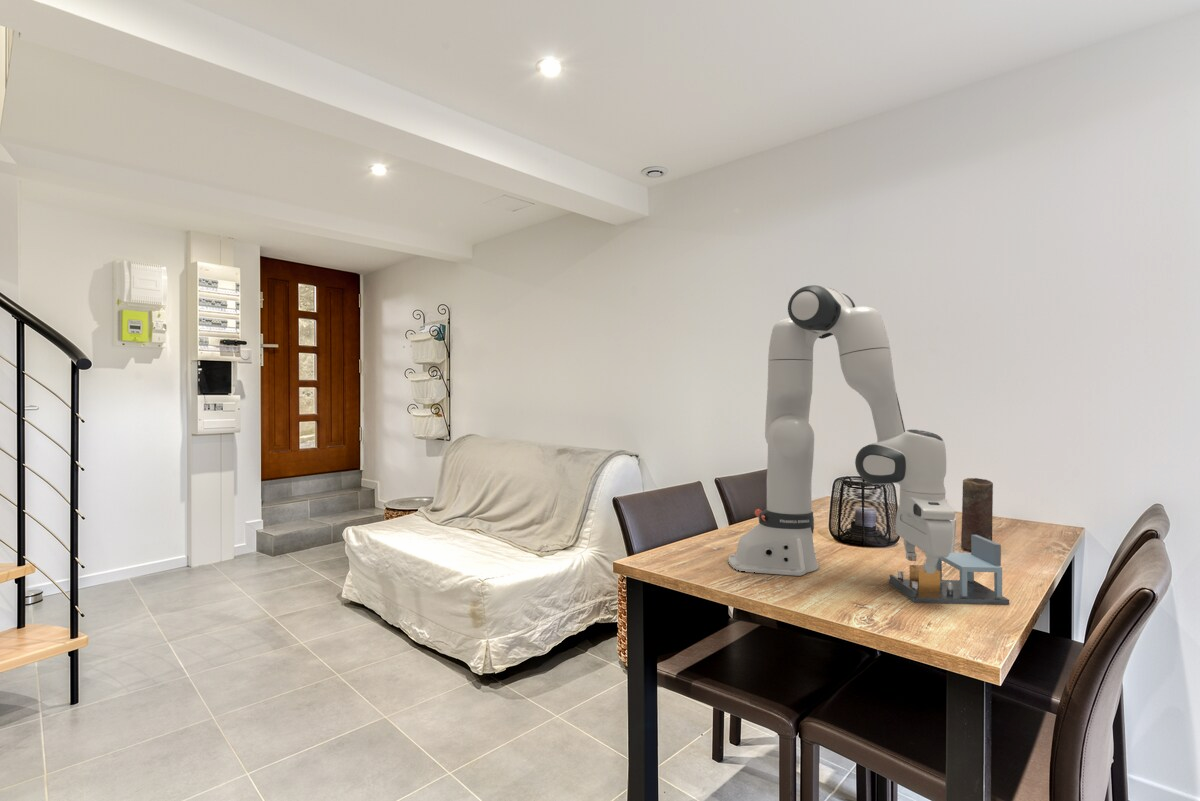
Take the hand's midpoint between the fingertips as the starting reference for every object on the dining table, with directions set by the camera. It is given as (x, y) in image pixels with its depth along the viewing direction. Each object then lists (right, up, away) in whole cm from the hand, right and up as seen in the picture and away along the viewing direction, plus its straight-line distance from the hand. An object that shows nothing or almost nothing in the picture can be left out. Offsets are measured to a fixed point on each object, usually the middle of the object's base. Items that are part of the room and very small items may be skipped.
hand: (919, 566), depth 129 cm
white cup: (+23, -6, +32) cm, 40 cm away
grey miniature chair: (+10, -5, -1) cm, 11 cm away
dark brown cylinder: (+36, -6, +35) cm, 50 cm away
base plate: (+6, -6, 0) cm, 8 cm away
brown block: (+1, -5, 0) cm, 5 cm away
